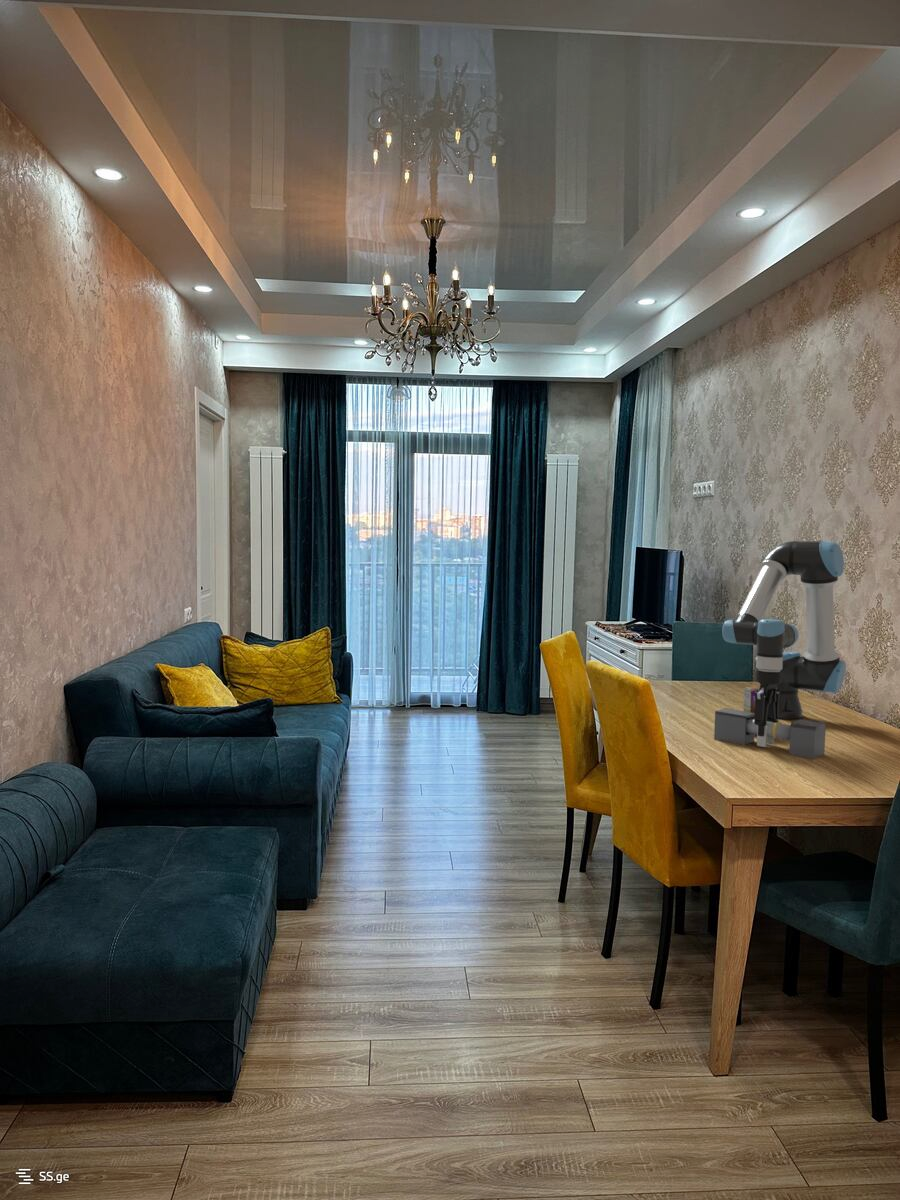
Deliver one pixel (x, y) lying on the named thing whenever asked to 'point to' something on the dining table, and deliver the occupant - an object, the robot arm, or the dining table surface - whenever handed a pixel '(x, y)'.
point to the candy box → (750, 699)
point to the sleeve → (732, 726)
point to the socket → (807, 738)
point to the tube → (770, 729)
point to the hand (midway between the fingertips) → (765, 744)
